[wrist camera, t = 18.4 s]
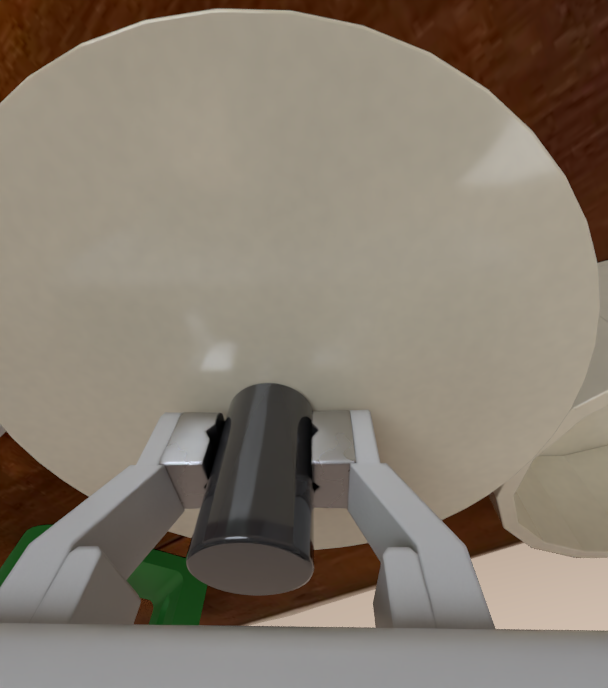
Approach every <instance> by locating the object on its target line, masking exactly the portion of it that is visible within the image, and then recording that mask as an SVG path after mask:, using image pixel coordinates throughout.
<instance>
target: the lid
mask: <svg viewBox="0 0 608 688" xmlns="http://www.w3.org/2000/svg"><path fill="white" fill-rule="evenodd" d="M600 308H601V305H600V288H599V270H598V263H597V259H596V255H595V251H594V247H593V243H592V239H591V235H590V231H589V227H588V223H587V220H586V218H585V216H584V214H583V212H582V210H581V208H580V206H579V204H578V201H577V199H576V197H575V195H574V193H573V191H572V189H571V187H570V184H569V182H568V180H567V178H566V176H565V174H564V173H563V172H562V170H561V169H560V168H559V166H558V165H557V163H556V162H555V161H554V159H553V158H552V157H551V155H550V154H549V153H548V151H547V150H546V148H545V147H544V146H543V144H542V143H541V142H540V140H539V139H538V138H537V136H536V135H535V133H534V132H533V131H532V130H531V129H530V128H529V127H528V126H527V125H526V124H525V123H524V122H523V121H522V120H521V119H519V118H518V117H517V116H516V115H515V114H514V113H513V112H512V111H511V110H510V109H509V108H508V107H507V106H506V105H504V104H503V103H502V102H501V101H500V100H499V99H498V98H497V97H496V96H495V95H494V94H493V93H492V92H490V91H489V90H488V89H487V88H486V87H484V86H483V85H481V84H479V83H478V82H476V81H475V80H473V79H472V78H470V77H468V76H467V75H465V74H464V73H462V72H461V71H459V70H457V69H456V68H454V67H453V66H451V65H450V64H448V63H446V62H445V61H443V60H442V59H440V58H438V57H437V56H435V55H434V54H432V53H431V52H428V51H426V50H423V49H421V48H419V47H416V46H414V45H411V44H409V43H406V42H404V41H401V40H399V39H396V38H394V37H391V36H389V35H386V34H384V33H381V32H379V31H377V30H374V29H372V28H369V27H367V26H364V25H360V24H355V23H350V22H346V21H341V20H336V19H331V18H326V17H322V16H317V15H312V14H307V13H303V12H298V11H293V10H270V9H231V8H214V9H208V10H202V11H195V12H189V13H183V14H177V15H171V16H164V17H158V18H152V19H146V20H143V21H140V22H137V23H135V24H132V25H129V26H126V27H124V28H121V29H118V30H116V31H113V32H110V33H107V34H105V35H102V36H99V37H96V38H94V39H91V40H88V41H86V42H83V43H81V44H79V45H77V46H76V47H74V48H73V49H71V50H69V51H68V52H66V53H65V54H63V55H61V56H60V57H58V58H57V59H55V60H53V61H52V62H50V63H48V64H47V65H45V66H44V67H42V68H40V69H39V70H37V71H36V72H34V73H32V74H31V75H29V76H28V77H27V78H26V79H25V80H24V81H23V82H22V83H21V84H20V85H19V86H18V87H16V88H15V89H14V90H13V91H12V92H11V93H10V94H9V95H8V96H7V97H6V98H5V99H4V100H3V101H2V102H1V103H0V425H1V426H2V427H3V428H4V429H5V430H6V431H7V432H8V434H9V435H10V436H11V437H12V438H13V439H14V440H15V441H16V442H17V443H18V444H19V445H20V446H21V447H22V448H23V449H25V450H26V451H27V452H28V453H29V454H30V455H31V456H32V457H33V458H35V459H36V460H37V461H38V462H39V463H40V464H42V465H43V466H44V467H46V468H47V469H48V470H50V471H51V472H52V473H54V474H55V475H56V476H58V477H59V478H60V479H62V480H63V481H65V482H66V483H68V484H69V485H71V486H72V487H74V488H76V489H77V490H79V491H80V492H82V493H83V494H85V495H87V496H88V497H90V496H91V495H92V494H94V493H95V492H96V491H97V490H99V489H100V488H101V487H103V486H104V485H105V484H106V483H108V482H109V481H110V480H112V479H113V478H114V477H115V476H117V475H118V474H119V473H121V472H122V471H123V470H124V469H126V468H127V467H128V466H130V465H136V464H137V462H138V460H139V458H140V456H141V454H142V452H143V450H144V448H145V446H146V444H147V442H148V440H149V438H150V436H151V434H152V432H153V430H154V428H155V426H156V424H157V422H158V420H159V418H160V417H161V416H162V415H163V414H164V413H165V412H174V413H184V412H206V413H222V414H223V417H224V420H225V423H224V426H223V430H222V433H221V437H220V440H219V444H218V447H217V451H216V454H215V458H214V461H213V465H212V468H211V472H210V475H209V479H208V482H207V486H206V489H205V493H204V496H203V500H202V503H201V507H200V508H198V509H184V510H185V511H184V512H183V514H182V515H181V516H180V517H179V518H178V520H177V521H176V522H175V523H174V524H173V525H172V527H171V528H170V529H169V530H168V531H169V532H173V533H176V534H179V535H183V536H186V537H190V538H191V542H190V545H189V549H188V552H187V556H186V563H187V568H188V570H189V572H190V573H191V574H192V575H193V576H194V577H195V578H196V579H198V580H199V581H201V582H203V583H205V584H207V585H209V586H211V587H214V588H216V589H219V590H222V591H226V592H231V593H236V594H243V595H272V594H279V593H284V592H288V591H291V590H294V589H297V588H299V587H301V586H303V585H304V584H306V583H307V582H308V581H309V580H310V578H311V576H312V574H313V571H314V550H317V549H328V548H339V547H346V546H352V545H359V544H365V543H368V541H367V540H366V538H365V537H364V535H363V534H362V532H361V531H360V529H359V527H358V526H357V524H356V523H355V521H354V520H353V518H352V517H351V515H350V513H349V512H348V510H347V509H346V508H314V482H313V481H312V411H329V410H349V411H350V410H369V411H370V412H371V417H372V422H373V427H374V432H375V437H376V442H377V447H378V453H379V458H380V463H387V464H388V465H389V466H390V467H391V468H392V469H393V470H394V471H395V472H396V473H397V474H398V475H399V477H400V478H401V479H402V480H403V481H404V482H405V483H406V484H407V485H408V486H409V487H410V488H411V489H412V490H413V491H414V492H415V493H416V494H417V495H418V496H419V497H420V498H421V499H422V501H423V502H424V503H425V504H426V505H427V506H428V507H429V508H430V509H431V510H432V511H433V512H434V513H435V514H436V515H437V516H438V517H439V518H440V519H441V520H443V519H445V518H447V517H449V516H451V515H453V514H455V513H457V512H459V511H461V510H464V509H466V508H467V507H469V506H471V505H472V504H474V503H476V502H477V501H479V500H481V499H482V498H484V497H486V496H487V495H489V494H490V493H492V492H493V491H494V490H496V489H497V488H499V487H500V486H501V485H503V484H504V483H505V482H507V481H508V480H509V479H511V478H512V477H513V476H514V475H515V474H517V473H518V472H519V471H520V470H521V469H522V468H523V467H524V466H525V465H526V464H528V463H529V462H530V461H531V460H532V459H533V458H534V457H535V456H536V455H537V454H538V452H539V451H540V450H541V449H542V448H543V447H544V445H545V444H546V443H547V442H548V441H549V440H550V439H551V437H552V436H553V435H554V434H555V432H556V431H557V429H558V428H559V426H560V425H561V423H562V422H563V420H564V419H565V417H566V416H567V414H568V413H569V411H570V410H571V408H572V406H573V404H574V402H575V400H576V398H577V396H578V394H579V392H580V390H581V387H582V385H583V383H584V381H585V379H586V376H587V373H588V370H589V366H590V363H591V360H592V356H593V353H594V350H595V346H596V341H597V332H598V324H599V316H600Z"/></svg>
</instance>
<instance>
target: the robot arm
mask: <svg viewBox="0 0 608 688" xmlns="http://www.w3.org/2000/svg"><path fill="white" fill-rule="evenodd" d="M224 423H225V420H224V417H223V414H222V413H206V412H184V413H174V412H165V413H164V414H163V415H162V416H161V417H160V418H159V420H158V422H157V424H156V426H155V428H154V430H153V432H152V434H151V436H150V438H149V440H148V442H147V444H146V446H145V448H144V450H143V452H142V454H141V456H140V458H139V460H138V462H137V464H136V465H130V466H128V467H127V468H126V469H124V470H123V471H122V472H121V473H119V474H118V475H117V476H115V477H114V478H113V479H112V480H110V481H109V482H108V483H106V484H105V485H104V486H103V487H101V488H100V489H99V490H97V491H96V492H95V493H94V494H92V495H91V496H90V497H89V498H87V499H86V500H85V501H83V502H82V503H81V504H80V505H78V506H77V507H76V508H74V509H73V510H72V511H71V512H69V513H68V514H67V515H65V516H64V517H63V518H62V519H60V520H59V521H58V522H56V523H55V524H54V525H53V526H51V527H50V528H49V529H47V530H46V531H45V532H44V533H42V534H41V535H40V536H39V537H37V538H36V539H35V540H33V541H32V542H31V543H30V544H29V545H28V546H27V548H26V549H25V551H24V552H23V554H22V555H21V557H20V558H19V560H18V561H17V563H16V564H15V566H14V567H13V569H12V570H11V572H10V573H9V575H8V576H7V578H6V579H5V581H4V582H3V584H2V585H1V587H0V688H608V631H587V630H586V631H585V630H580V631H579V630H510V629H507V630H506V629H495V626H494V624H493V621H492V618H491V615H490V612H489V609H488V607H487V604H486V601H485V598H484V595H483V593H482V590H481V587H480V584H479V581H478V578H477V576H476V573H475V570H474V568H473V564H472V562H471V559H470V556H469V553H468V550H467V547H466V545H465V544H464V543H463V542H462V541H461V540H460V539H459V538H458V537H457V536H456V535H455V534H454V533H453V532H452V531H451V530H450V529H449V528H448V527H447V526H446V525H445V524H444V522H443V521H442V520H441V519H440V518H439V517H438V516H437V515H436V514H435V513H434V512H433V511H432V510H431V509H430V508H429V507H428V506H427V505H426V504H425V503H424V502H423V501H422V499H421V498H420V497H419V496H418V495H417V494H416V493H415V492H414V491H413V490H412V489H411V488H410V487H409V486H408V485H407V484H406V483H405V482H404V481H403V480H402V479H401V478H400V477H399V475H398V474H397V473H396V472H395V471H394V470H393V469H392V468H391V467H390V466H389V465H388V464H387V463H380V458H379V453H378V447H377V442H376V437H375V432H374V427H373V422H372V417H371V412H370V411H369V410H350V411H349V410H329V411H312V481H313V482H314V508H346V509H347V510H348V512H349V513H350V515H351V517H352V518H353V520H354V521H355V523H356V524H357V526H358V527H359V529H360V531H361V532H362V534H363V535H364V537H365V538H366V540H367V541H368V543H369V545H370V546H371V548H372V549H373V551H374V552H375V554H376V555H377V557H378V559H379V560H380V562H381V566H380V571H379V576H378V581H377V586H376V591H375V596H374V601H373V607H374V616H375V625H376V628H354V627H350V628H349V627H279V626H278V627H276V626H275V627H274V626H202V625H133V623H134V620H135V618H136V615H137V612H138V609H139V606H140V603H141V600H140V598H139V595H138V594H137V593H136V591H135V590H134V589H133V588H132V587H131V585H130V584H129V583H128V582H127V581H126V580H127V579H128V578H129V576H130V575H131V574H132V573H133V572H134V570H135V569H136V568H137V567H138V566H139V565H140V563H141V562H142V561H143V560H144V559H145V557H146V556H147V555H148V554H149V553H150V551H151V550H152V549H153V548H154V547H155V546H156V544H157V543H158V542H159V541H160V540H161V538H162V537H163V536H164V535H165V534H166V533H167V531H168V530H169V529H170V528H171V527H172V525H173V524H174V523H175V522H176V521H177V520H178V518H179V517H180V516H181V515H182V514H183V512H184V511H185V510H184V509H198V508H200V507H201V503H202V500H203V496H204V493H205V489H206V486H207V482H208V479H209V475H210V472H211V468H212V465H213V461H214V458H215V454H216V451H217V447H218V444H219V440H220V437H221V433H222V430H223V426H224Z"/></svg>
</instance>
